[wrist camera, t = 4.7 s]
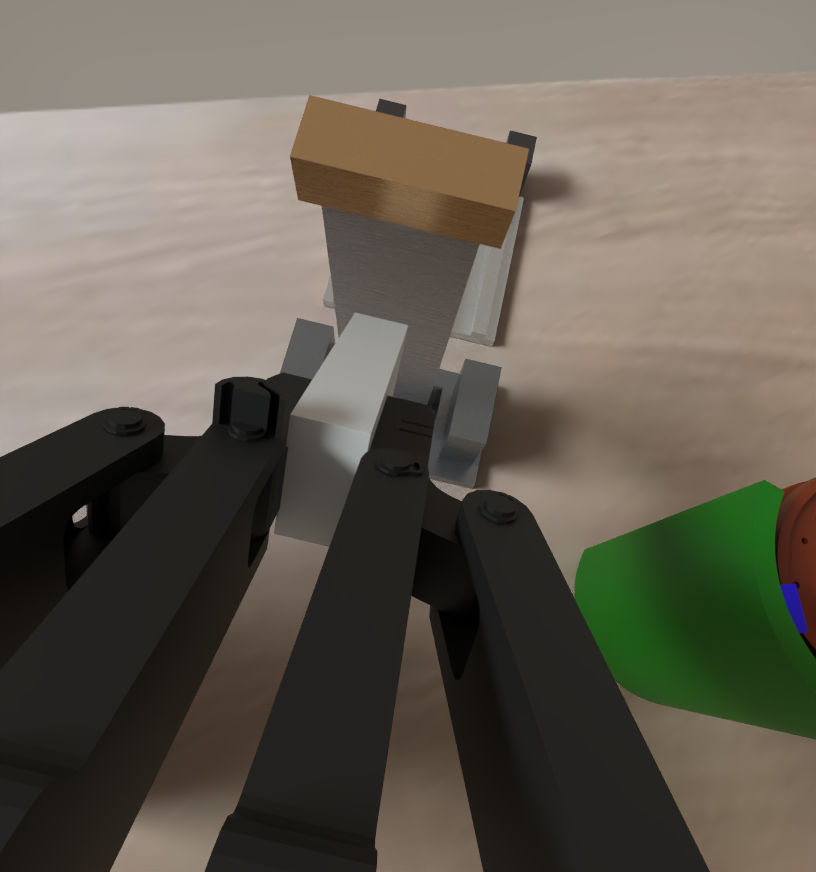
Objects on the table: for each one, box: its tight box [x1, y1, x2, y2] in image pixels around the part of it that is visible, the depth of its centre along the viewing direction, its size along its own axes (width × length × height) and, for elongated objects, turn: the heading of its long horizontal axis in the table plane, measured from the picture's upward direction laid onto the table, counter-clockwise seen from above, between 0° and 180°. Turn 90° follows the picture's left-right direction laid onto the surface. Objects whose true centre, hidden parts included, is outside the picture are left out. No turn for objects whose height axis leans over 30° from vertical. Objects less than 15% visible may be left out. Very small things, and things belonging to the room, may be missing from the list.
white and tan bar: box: [290, 95, 529, 419], centre depth 24 cm, size 5×2×20 cm, turn 77°
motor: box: [575, 478, 816, 739], centre depth 23 cm, size 10×9×20 cm
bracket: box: [280, 99, 537, 489], centre depth 34 cm, size 11×20×5 cm, turn 167°
